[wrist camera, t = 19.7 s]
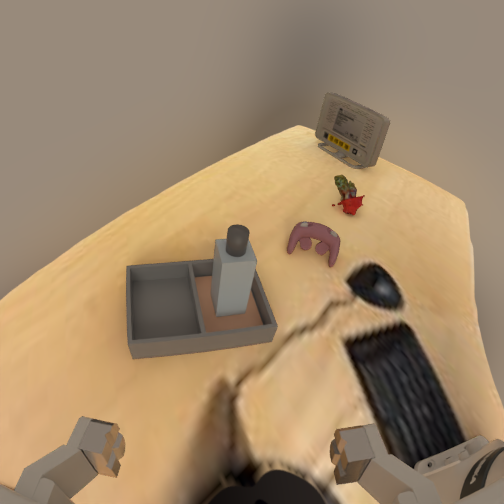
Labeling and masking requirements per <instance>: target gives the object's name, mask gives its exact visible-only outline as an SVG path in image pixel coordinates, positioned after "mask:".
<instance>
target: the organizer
mask: <svg viewBox="0 0 504 504" xmlns="http://www.w3.org/2000/svg"><path fill="white" fill-rule="evenodd" d="M213 260H214V259H207V260H195V261H182V262H169V263H157V264H144V265H131V266H127V269H126V307H127V337H128V346H129V349H130V352H131V355H132V358H133V359H140V358H152V357H162V356H172V355H182V354H190V353H199V352H207V351H214V350H222V349H229V348H235V347H242V346H248V345H255V344H261V343H267V342H272V340H273V337H274V335H275V332H276V330H277V327H278V326H277V323H276V321H275V318H274V316H273V313H272V310H271V308H270V305H269V303H268V300H267V297H266V295H265V292H264V290H263V287H262V284H261V282H260V279H259V277H258V274H257V272H256V269H255V272H254V277H253V281H252V286H251V290H250V295H249V299H248V303H247V308H246V312H245V314H238V315H230V316H222V317H216V315H215V310H214V306H213V302H212V298H211V283H212V271H213Z"/></svg>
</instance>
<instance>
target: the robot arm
mask: <svg viewBox="0 0 504 504" xmlns="http://www.w3.org/2000/svg"><path fill="white" fill-rule="evenodd" d="M119 430H120V428H119V426H118V424H116V423H111V422H106V421H101V420H97V419H93V418H88V417H84V416H82V417H81V418H79V420H78V422H77V424H76V426H75V428H74V430H73V432H72V434H71V436H70V439H69V441H68V443H67V445H62V446H60V447H59V448H57V449H56V450H54V451H52V452H51V453H49V454H47V455H46V456H44V457H43V458H41V459H39V460H38V461H36V462H34V463H33V464H31V465H29V466H28V467H26V468H24V470H23V472H22V475H21V477H20V479H19V481H18V483H17V485H16V487H15V489H14V491H13V490H11V489H9V488H7V487H6V486H4V485H2V484H0V504H75V503H74V502H73V501H71V500H70V499H71V498H72V497H73V496H74V495H75V494H76V493H78V492H79V491H80V490H81V489H82V488H83V487H85V486H86V485H87V484H88V483H89V482H90V481H91V480H93V479H94V478H95V477H96V476H97V475H98V474H101V475H106V476H110V477H115V478H117V476H118V472H119V469H120V466H121V465H120V463H119V459H121V458H122V457H123V456H124V452H125V440H124V437H123V435H121V434H120V433H119ZM334 437H335V439H334V440H333V441H332V442H331V445H330V458H331V462H332V463H333V464H334V465H335V466H336V467H335V469H334V475H335V479H336V483H337V485H339V484H346V483H353V482H358V483H359V484H360V485H361V486H362V487H363V488H364V489H365V490H366V491H367V492H368V493H369V494H370V495H371V496H372V497H374V498H375V499H376V500H377V501H378V502H379V503H380V504H504V442H503V441H502V440H500V439H495V440H493V441H491V442H489V441H488V440H487V439H486V438H484V437H483V436H481V435H479V436H477V437H474V438H472V439H470V440H468V441H466V442H464V443H462V444H459V445H457V446H455V447H453V448H450V449H448V450H446V451H444V452H441V453H439V454H436V455H434V456H431V457H429V458H426V459H424V460H421V461H419V462H417V463H416V464H415V467H414V469H412V468H411V467H409V466H408V465H406V464H405V463H403V462H402V461H400V460H399V459H398V458H396V457H395V456H393V455H392V454H391V455H388V453H387V451H386V448H385V446H384V443H383V441H382V438H381V436H380V433H379V431H378V428H377V426H376V425H375V424H368V425H363V426H361V425H360V426H354V427H348V428H341V429H337V430H336V431H335V433H334ZM428 464H429V467H428Z"/></svg>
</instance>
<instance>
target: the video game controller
mask: <svg viewBox="0 0 504 504" xmlns="http://www.w3.org/2000/svg"><path fill="white" fill-rule="evenodd" d="M310 238H314V239H317V240H320V241H321V242H319V243H318V244H317V245H316V252H317V253H318V254H320V255H323V254H325V253H326V252H327V251H328V250H329V252H330V256H329V266H330V267H332V266H333V265H334V264H335V262H336V259H337V256H338V253H339V247H340V238H339V236H338V234H337V233H335V232H334V231H333V230H332V229H330V228H329V227H327V226H325V225H322V224H319V223H314V222H300V223H298V224H297V225H296V226H295V227H294V229H293V231H292V233H291V235H290V238H289V243H288V247H287V252H288V254H291V253H292V252H293V250H294V248H295V246H296V244H297V242H298V241H299V242H300V246H301V248H302V249H304V250H308V249H310V248H311V245H312V242H311V239H310Z"/></svg>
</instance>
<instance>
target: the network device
mask: <svg viewBox="0 0 504 504" xmlns="http://www.w3.org/2000/svg"><path fill="white" fill-rule="evenodd" d="M389 125H390V120H389V118H387V117H385V116H383V115H382V114H380V113H377V112H375V111H373V110H371V109H369V108H367V107H365V106H363V105H361V104H358V103H356V102H354V101H352V100H350V99H348V98H345V97H343V96H341V95H338V94H336V93H326V94H325V97H324V101H323V105H322V109H321V113H320V117H319V121H318V125H317V129H316V132H315V136H316V137H317V138H318V139H319V140H321V141H323V142H325V143H319V144H318V147H319V148H320V149H322V150H323V151H325V152H327V153H328V154H330V155H332V156H333V157H335V158H337V159H338V160H340V161H341V162H343V163H344V164H346V165H348V166H349V167H351V168H354V169H362V168H365V167H372V166H375V165H376V162H377V159H378V157H379V154H380V151H381V148H382V145H383V143H384V140H385V136H386V134H387V131H388V128H389ZM328 145H330V146H332V147H333V148H335V149H337V150H338V152H337V153H332V152H330V151H329V150H327V149H325V148H324V147H322V146H328ZM345 157H350V158H352V159H353V160H355V161H356V162H358V163H360V164H361V165H358V166H354V165H351V164H350V163H348V162H346V161H345V160H343V159H342V158H345Z"/></svg>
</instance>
